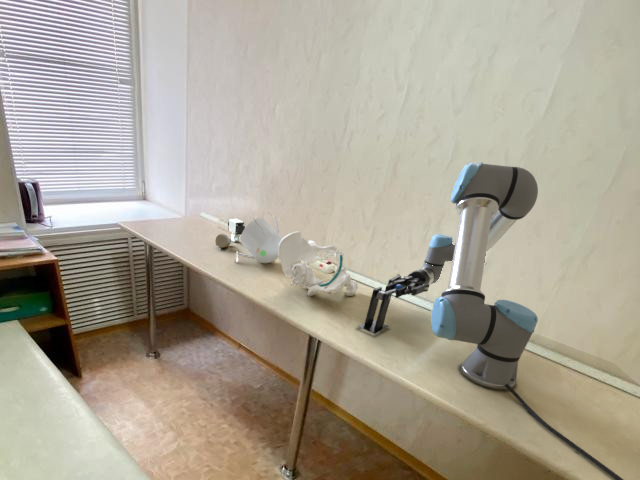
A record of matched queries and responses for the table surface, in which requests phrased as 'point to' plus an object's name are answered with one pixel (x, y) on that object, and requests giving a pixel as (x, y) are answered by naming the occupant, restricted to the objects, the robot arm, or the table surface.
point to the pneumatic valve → (236, 228)
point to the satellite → (261, 240)
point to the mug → (222, 240)
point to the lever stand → (370, 322)
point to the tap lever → (381, 293)
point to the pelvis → (302, 249)
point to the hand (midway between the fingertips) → (391, 292)
